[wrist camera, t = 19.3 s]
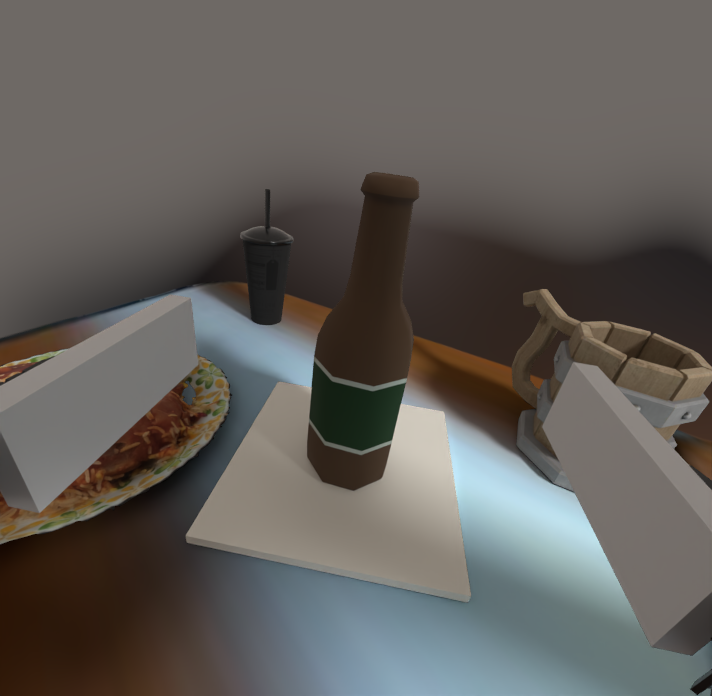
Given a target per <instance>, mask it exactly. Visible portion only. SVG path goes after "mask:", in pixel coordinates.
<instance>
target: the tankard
mask: <svg viewBox="0 0 712 696" xmlns="http://www.w3.org/2000/svg"><path fill="white" fill-rule="evenodd" d="M523 300H524V306H526V307H531V306H537V308H538V310H539V312H540V314H541V315H542V317H541V319H540V321H539V322H538V324H537V326H536V328H535V330H534V332H533V334H532V336H531V337H530V338H529V339H528V340H527V341H526V343H525V344H524V345H523V346H522V347H521V348H520V349H519V350H518V351H517V354H516V357H515V359H514V362H513V365H512V381H513V388H514V389H515V390H516V391H517V392H518V394H519V395H520V396H521V397H522V398H523V399H524V400H525V401H526V402H527V403H529V404H530V405H531V406H533V407H534V408H536V409H531V410H524V411H522V413H521V415H520V417H519V421H518V432H517V443H516V445H517V447H518V448H519V449H520V450H521V451H522V452H523V453H524V454H525V455H526V456H527V457H528V458H529V459H530V460H531V461H532V462H533V463H534V464H535V465H536V466H537V467H538V468H539V469H540V470H541V471H542V472H543V473H544V474H545V475H546V476H547V477H548V478H549V479H550V480H551V481H552V482H553V483H554V484H556V485H558V486H561V487H563V488H566V489H568V490H571V491H573V492H574V490H573V488H572V486H571V484H570V482H569V480H568V478H567V476H566V474H565V472H564V470H563V468H562V466H561V464H560V462H559V460H558V458H557V456H556V454H555V452H554V450H553V448H552V446H551V444H550V442H549V440H548V438H547V436H546V434H545V432H544V430H543V428H542V426H543V424H544V422H545V420H546V417H547V415H548V413H549V411H550V409H551V407H552V405H553V403H554V401H555V399H556V397H557V395H558V392H559V390H560V388H561V386H562V384H563V382H564V380H565V378H566V376H567V374H568V372H569V370H570V368H571V365H572V363H573V362H576V363H582V364H588V365H594V366H598V367H599V368H600V370H601V371H602V372H603V373H604V374H605V375H606V376H607V377H608V378H609V379H610V380H611V381H612V383H613V384H614V385H615V386H616V387H617V388H618V389H619V390H620V391H621V392H622V393H623V394H624V396H625V397H626V398H627V399H628V400H629V401H630V402H631V403H632V404H633V405H634V406H635V408H636V409H637V410H638V411H639V412H640V413H641V414H642V415H643V416H644V417H645V418H646V419H647V421H648V422H649V423H650V424H651V425H652V426H653V427H654V428H655V429H656V430H657V431H658V433H659V434H660V435H661V436H662V437H663V438H664V439H665V440H666V441H667V442H668V443H669V444H670V446H671V447H672V448H673V449H674V448H675V447H676V445H677V444H676V442H675V440H674V438H673V436H672V435H673V433H674V432H675V430H676V429H677V428H678V426H679V425H680V424H682V423H687V422H692V421H695V420H696V419H697V418H698V416H699V415H700V414H701V412H702V411H703V410H704V408H705V407H706V406H707V404H708V403H709V401H708V399H707V398H706V397H705V395H704V394H703V392H704V391H705V389H706V388H707V387H708V385H709V384H710V383H711V381H712V367H711V366H710V365H709V364H708V363H707V362H706V361H705V360H704V359H703V358H702V356H701V355H700V354H699V353H696V352H695V351H694V350H691V349H689V348H687V347H684V346H682V345H680V344H678V343H675V342H673V341H671V340H669V339H667V338H664V337H662V336H660V335H657V334H653V335H651V336H650V333H651V332H649V331H645V330H641V329H637V328H633V327H629V326H625V325H621V324H617V323H613V322H607V321H600V322H599V321H598V322H579V321H577V320H575V319H573V318H571V317H569V316H567V314H566V313H565V312H564V311H563V310H562V309H561V308H560V306H559V305H558V304H557V303H556V301H555V300H554V298H553V297H552V295H551V294H550V293H549V291H548V290H545V289H541V290H536V291H532V292H527V293H524V294H523ZM558 330H559V331H561V332H563V333H564V334H566V335H567V336H569V337H570V338H571V339H570V341H562V342H561V344H560V346H559V348H558V350H557V353H556V355H555V357H554V365H555V372H554V375H553V377H552V379H545V380H544V381H543V383H542V385H541V387H540V389H538V388H536V387H535V386H534V385H533V383H532V382H531V381H530V370H531V367H532V365H533V362H534V361H535V360H536V359H537V358H538V357H539V356H540V355H541V354H542V353H543V352H544V351H545V350H546V349H547V348H548V347H549V345H550V344H551V342H552V340H553V338H554V336H555V335H556V333H557V331H558Z"/></svg>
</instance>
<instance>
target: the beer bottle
mask: <svg viewBox="0 0 712 696" xmlns="http://www.w3.org/2000/svg"><path fill="white" fill-rule="evenodd" d="M361 191H362V192H363V194H364V195H365V199H364V204H363V210H362V216H361V221H360V226H359V231H358V236H357V242H356V247H355V252H354V258H353V263H352V268H351V274H350V278H349V281H348V284H347V288H346V291H345V294H344V297H343V298H342V299H341V301H340V302H339V303H338V304H337V305H336V306H335V308H334V309H333V310H332V311H331V312H330V314H329V315H328V316H327V318H326V320H325V322H324V324H323V326H322V328H321V330H320V332H319V334H318V338H317V343H316V349H315V355H314V366H313V378H312V390H311V401H310V413H309V425H308V437H307V457H308V459H309V461H310V462H311V464H312V466H313V467H314V469H315V471H316V472H317V474H318V476H319V477H320V479H321V480H322V482H324V483H328V484H331V485H334V486H338V487H341V488H345V489H348V490H352V491H354V490H357V489H359V488H361V487H364V486H366V485H368V484H371V483H373V482H375V481H378V480H380V479H381V478H382V477H383V474H384V471H385V468H386V464H387V460H388V456H389V452H390V448H391V443H392V439H393V435H394V431H395V426H396V422H397V418H398V414H399V410H400V405H401V401H402V397H403V393H404V388H405V384H406V380H407V375H408V370H409V366H410V361H411V354H412V348H413V341H414V338H413V331H412V324H411V320H410V317H409V315H408V313H407V311H406V308H405V306H404V304H403V302H402V285H403V283H402V282H403V274H404V266H405V259H406V252H407V243H408V237H409V230H410V222H411V214H412V208H413V202H414V201H415V200H416V199H418V198H419V183H418V181H417V180H415V179H414V178H411V177H406V176H400V175H393V174H386V173H378V172H373V173H370V174H367V175H366V177H365V179H364V182H363V185H362V187H361Z"/></svg>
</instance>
